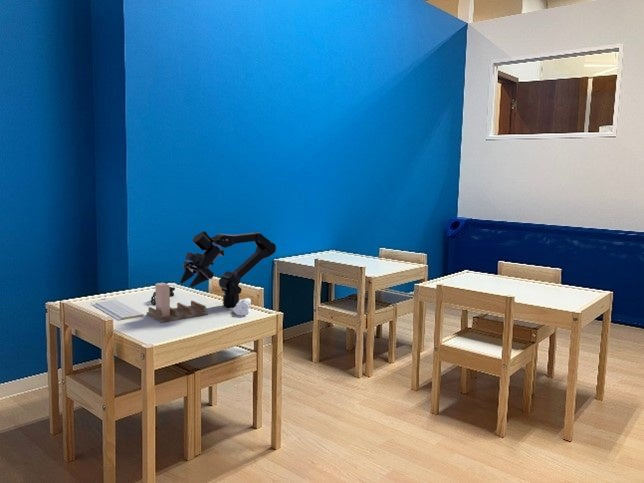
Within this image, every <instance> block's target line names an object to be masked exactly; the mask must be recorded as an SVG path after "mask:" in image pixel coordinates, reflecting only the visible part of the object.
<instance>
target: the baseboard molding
mask: <svg viewBox="0 0 644 483" xmlns="http://www.w3.org/2000/svg"><path fill="white" fill-rule="evenodd" d="M106 299H107V298H106ZM103 300H104V301H103ZM90 306H93V307H95V308H97V309H98V310H100V311H102V312H103V311H104V313H105V314H107V315H108V314H109V316H110V317H112V318H114V319H115V318H116V320H117V321H123V320H130V319H135V318H142V317H144V313H142V312H140V311H138V310H136V309H134V308H132V307H130V306H128V305H127V304H125V303H123V302H121V301H119V300H117V299H116V297H115V298H114V299H111V300H109V298H108V299H107V300H105V298H102V299H101V300H99V302H95V303H94V304H93V303H90Z"/></svg>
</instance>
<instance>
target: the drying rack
mask: <svg viewBox="0 0 644 483" xmlns="http://www.w3.org/2000/svg"><path fill="white" fill-rule="evenodd" d="M147 309H148V311H147V312H146V316H148V317H150V318H151V319H153V320H155V321H157V322H159V323H162V324H163V323H169V322H173V321H174V322H175V321H179V320H185V319H191V318H196V317H197V318H198V317H202V316H207V315H209V312H207V306H206V305H204V304H201V303H200V302H198V301H195V300H190V305H186V304H183V303H181V302H177V303H176V307H171V306H170V316H166V317H163V313H161V312H159V311H157V310H156V308H153V307H151V306H149V307H148V308H147Z"/></svg>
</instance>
